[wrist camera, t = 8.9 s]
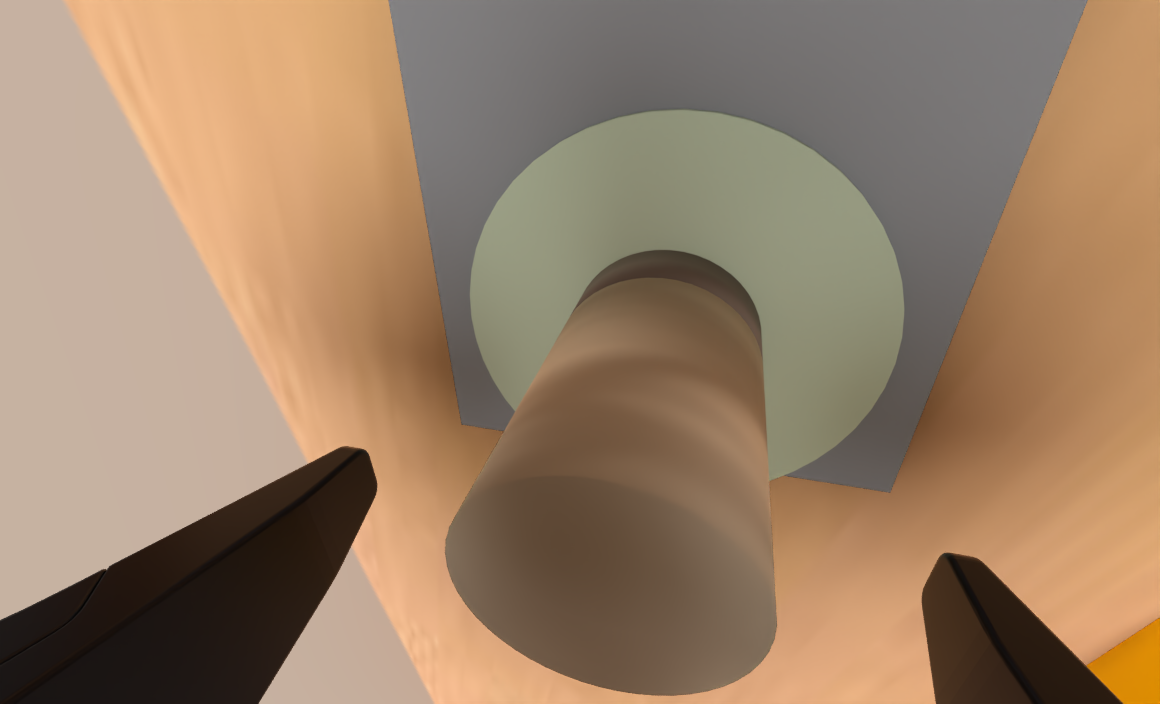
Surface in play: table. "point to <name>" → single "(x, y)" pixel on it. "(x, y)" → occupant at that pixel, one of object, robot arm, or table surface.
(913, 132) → the board
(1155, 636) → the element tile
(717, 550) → the sleeve
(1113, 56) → the table surface
